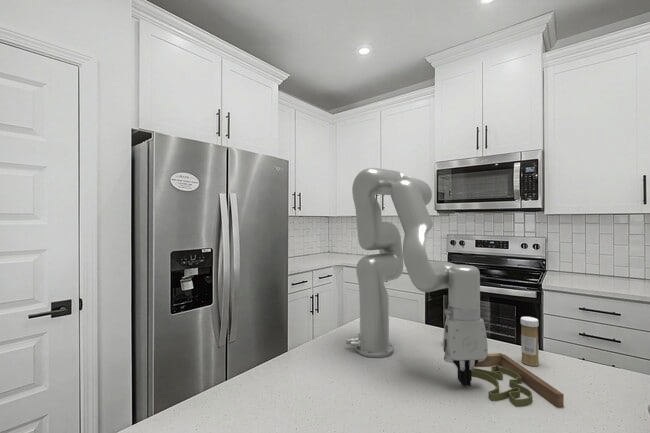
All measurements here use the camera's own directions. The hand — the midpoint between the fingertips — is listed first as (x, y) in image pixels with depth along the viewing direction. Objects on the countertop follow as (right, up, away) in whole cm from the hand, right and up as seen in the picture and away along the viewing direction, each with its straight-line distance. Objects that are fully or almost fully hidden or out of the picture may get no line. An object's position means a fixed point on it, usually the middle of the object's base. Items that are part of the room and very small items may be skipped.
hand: (464, 383), depth 85 cm
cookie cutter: (+9, -1, 0) cm, 10 cm away
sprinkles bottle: (+25, -1, +13) cm, 28 cm away
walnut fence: (+10, -1, +1) cm, 10 cm away
